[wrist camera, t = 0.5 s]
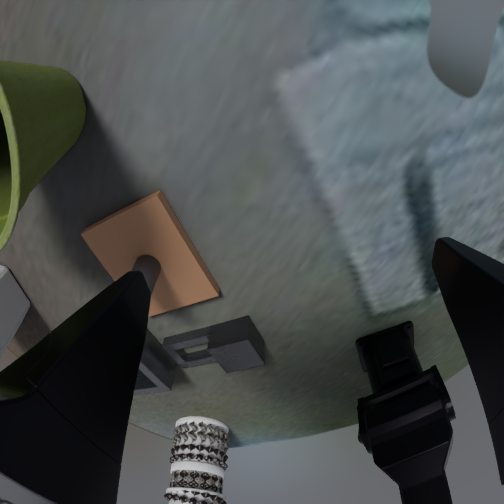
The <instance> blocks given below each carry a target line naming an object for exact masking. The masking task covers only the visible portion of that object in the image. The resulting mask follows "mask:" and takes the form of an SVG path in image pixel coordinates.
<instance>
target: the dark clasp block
mask: <svg viewBox="0 0 504 504" xmlns="http://www.w3.org/2000/svg"><path fill="white" fill-rule="evenodd" d="M203 343H208V348H207V349H206V350H202V351H197V352H193V353H189V354H187V353H186V352H185V351H184V350H183V349H182V348H187V347H191V346H195V345H199V344H203ZM162 347H163V348H164V349H165V350H166V351H167V352H168V353H169V355H170V356H171V357H172V358H173V359H174V360H175V361H176V362H177V363H178V364H179V365H180V366H181V367H182V368H188V367H193V366H198V365H203V364H207V363H212V362H218V363H219V365H220V366H221V367H222V368H223V369H224V370H225V372H226V373H230V372H234V371H239V370H243V369H248V368H252V367H256V366H261V365H265V354H264V340H263V338H262V337H261V335H260V333H259V332H258V330H257V329H256V327H255V325H254V324H253V322H252V320H251V319H250V317H249V316H245V317H241V318H238V319H234V320H231V321H227V322H224V323H220V324H216V325H213V326H209V327H205V328H202V329H198V330H194V331H190V332H186V333H182V334H178V335H174V336H170V337H166V338H164V342H163V346H162Z"/></svg>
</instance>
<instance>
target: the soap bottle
mask: <svg viewBox="0 0 504 504" xmlns="http://www.w3.org/2000/svg"><path fill="white" fill-rule="evenodd" d="M29 307H30V301H29V300H28V298H27V297H26V295H25V294H24V292H23V291H22V289H21V288H20V286H19V285H18V283H17V282H16V280H15V278H14V277H13V275H12V274H11V272H10V270H9V269H8V268H7V267H5V266H2V265H0V359H1V357H2V355H3V354H4V352H5V350H6V348H7V347H8V345H9V343H10V342H11V340H12V338H13V336H14V335H15V333H16V331H17V330H18V328H19V326H20V325H21V323H22V321H23V319H24V317H25V315H26V313H27V311H28V309H29Z"/></svg>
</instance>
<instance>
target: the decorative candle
mask: <svg viewBox="0 0 504 504" xmlns="http://www.w3.org/2000/svg"><path fill="white" fill-rule="evenodd" d="M176 428H177V429H175V430H174V432H175V433H174V436H175V437H174V438H173V445H174V446H175V447H174V448H172V449H171V451H172V452H171V453H172V454H173V457H171V458H170V462H171V463H172V466H171V482H170V488H167V490H166V493H168V494H165V495H164V497H165V498H166V499H167V500H168V499H169V504H226V502H225V501H224V500H225V499H226V497H225V496H224V495H223V494H222V489H223V480H224V479H225V470H226V468H227V464H226V463H225V461H226V460H227V459H228V456H227V455H226V452H227V450H228V449H229V446H228V444H227V442H228V440H229V436H228V435H227V434H228V432H229V429H228V427H227V425H225V424H224V423H222V422H221V421H218V420H215V419H212V418H207V417H201V416H188V417H182V418H180V419H178V420H177V421H176Z"/></svg>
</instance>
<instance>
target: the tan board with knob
mask: <svg viewBox="0 0 504 504" xmlns="http://www.w3.org/2000/svg"><path fill="white" fill-rule="evenodd" d="M81 236H82V237H83V239H84V240H85V242H86V243H87V244H88V246H89V247H90V249H91V250H92V251H93V253H94V254H95V256H96V257H97V258H98V260H99V261H100V263H101V264H102V265H103V267H104V268H105V269H106V271H107V272H108V273H109V275H110V276H111V277H112V279H113V280H114V281H116V280H117V279H119V278H120V277H121V276H123V275H124V274H125V273H127V272H128V271H135V270H140V271H142V273H143V275H144V277H145V280H146V282H147V285H148V287H149V290H150V293H151V301H150V309H149V316H148V317H150V316H153V315H157V314H160V313H164V312H167V311H170V310H174V309H177V308H180V307H184V306H187V305H190V304H194V303H197V302H200V301H204V300H207V299H210V298H213V297H217V296H219V289H220V288H219V286H218V285H217V283H216V282H215V280H214V278H213V277H212V275H211V274H210V272H209V270H208V269H207V267H206V265H205V264H204V262H203V261H202V259H201V257H200V256H199V254H198V252H197V251H196V249H195V247H194V246H193V244H192V242H191V241H190V239H189V237H188V236H187V234H186V232H185V231H184V229H183V227H182V226H181V224H180V222H179V220H178V219H177V217H176V215H175V214H174V212H173V210H172V208H171V207H170V205H169V203H168V202H167V200H166V198H165V196H164V195H163V193H162V191H161V190H159V191H157V192H155V193H153V194H151V195H149V196H147V197H145V198H143V199H141V200H139V201H137V202H135V203H133V204H131V205H129V206H127V207H125V208H123V209H121V210H119V211H117V212H115V213H113V214H111V215H109V216H107V217H106V218H104V219H102V220H100V221H98V222H96V223H94V224H93V225H91V226H89V227H87V228H85V230H84V231H83V232H82V233H81Z"/></svg>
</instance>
